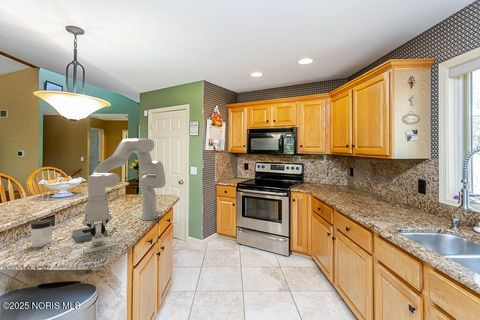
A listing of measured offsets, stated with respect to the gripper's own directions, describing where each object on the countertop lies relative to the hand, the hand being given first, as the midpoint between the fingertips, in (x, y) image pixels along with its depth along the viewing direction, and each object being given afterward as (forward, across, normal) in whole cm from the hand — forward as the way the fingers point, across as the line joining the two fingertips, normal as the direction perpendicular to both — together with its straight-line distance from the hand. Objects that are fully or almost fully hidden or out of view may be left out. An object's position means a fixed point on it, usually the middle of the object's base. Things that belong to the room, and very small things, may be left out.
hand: (98, 233), depth 118 cm
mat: (+6, 0, 0) cm, 6 cm away
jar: (+7, +20, -24) cm, 32 cm away
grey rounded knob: (+4, 0, 0) cm, 4 cm away
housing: (+6, 0, -17) cm, 18 cm away
